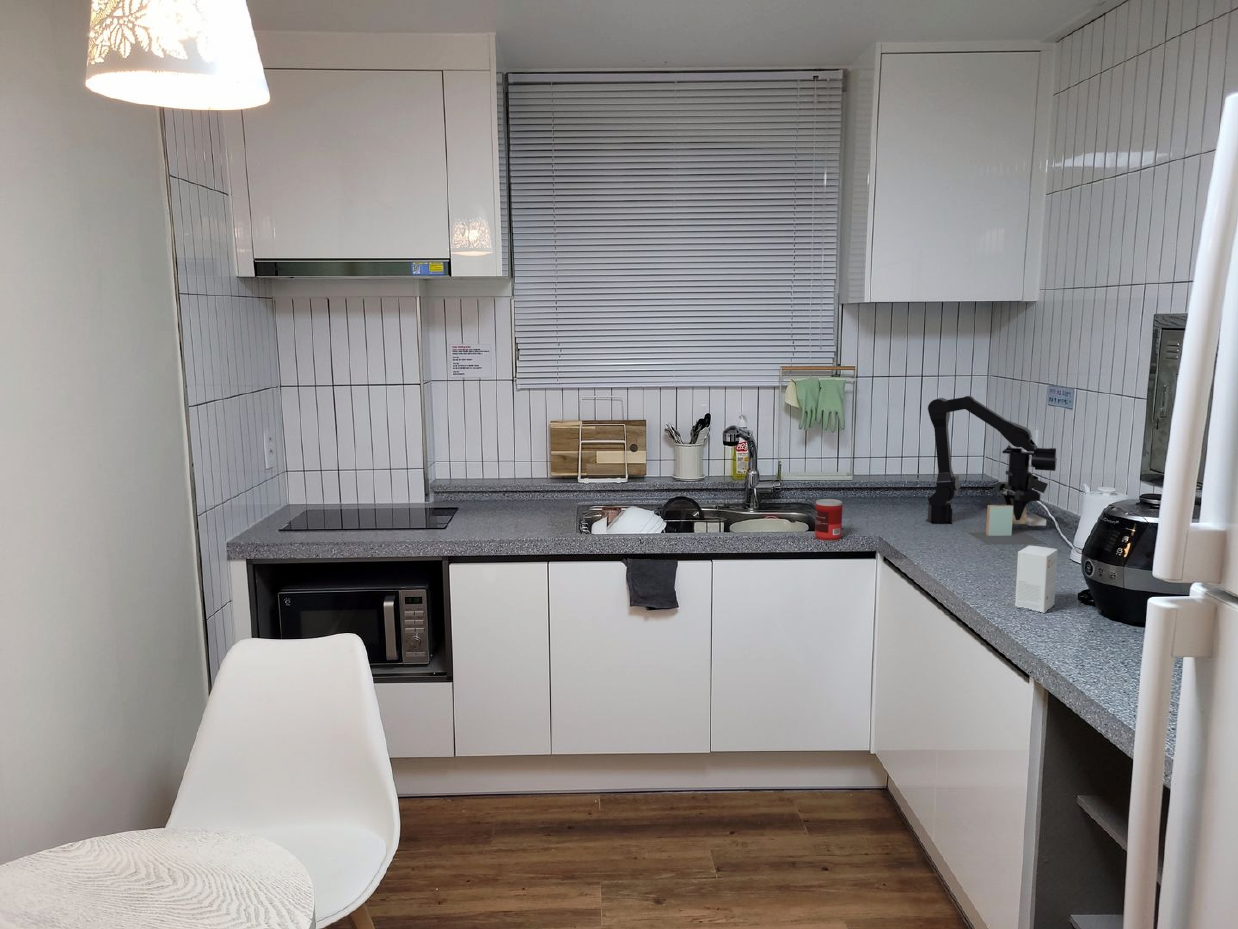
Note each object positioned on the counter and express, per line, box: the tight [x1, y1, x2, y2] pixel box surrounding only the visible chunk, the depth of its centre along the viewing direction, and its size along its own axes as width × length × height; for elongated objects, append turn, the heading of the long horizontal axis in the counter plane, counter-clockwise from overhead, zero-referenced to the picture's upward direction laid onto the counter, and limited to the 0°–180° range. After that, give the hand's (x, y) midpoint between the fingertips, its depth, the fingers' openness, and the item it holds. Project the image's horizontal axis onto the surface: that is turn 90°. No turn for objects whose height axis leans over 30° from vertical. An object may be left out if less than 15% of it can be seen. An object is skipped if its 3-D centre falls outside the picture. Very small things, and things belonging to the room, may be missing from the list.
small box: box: [1014, 544, 1059, 614], centre depth 202 cm, size 8×6×13 cm
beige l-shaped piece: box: [1012, 506, 1047, 527], centre depth 280 cm, size 15×8×5 cm, turn 90°
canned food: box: [814, 498, 843, 541], centre depth 271 cm, size 8×8×11 cm
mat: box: [967, 531, 1047, 546], centre depth 268 cm, size 17×15×1 cm
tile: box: [985, 504, 1013, 536], centre depth 271 cm, size 7×2×9 cm, turn 90°
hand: (1015, 518), depth 280 cm, fingers closed on beige l-shaped piece, 3 cm apart
